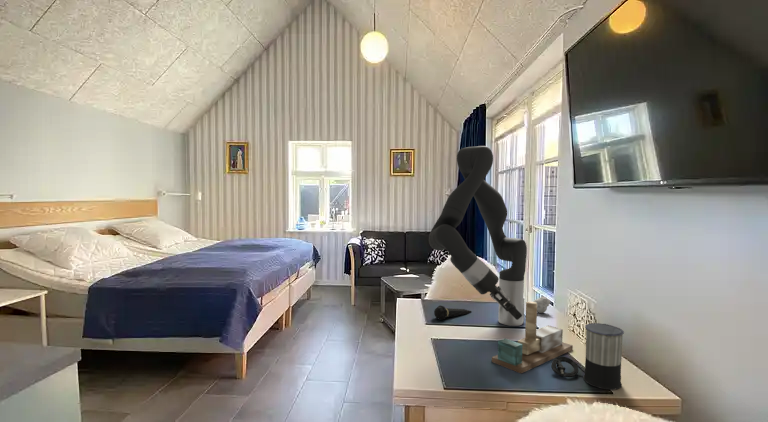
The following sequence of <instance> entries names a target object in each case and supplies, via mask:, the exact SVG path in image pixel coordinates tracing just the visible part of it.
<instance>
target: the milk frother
mask: <svg viewBox="0 0 768 422" xmlns="http://www.w3.org/2000/svg"><path fill="white" fill-rule="evenodd" d="M584 327H585V329H586V331H585V332H586V333H585V335H586V337H585V359H584V360H585V363H584V369H583V368H582V367H580V366H579V364H578V363H576V361H575V360H573V359H571V358H570V357H567V356H558V357H556V358H554V359H552V362H551V370H552V371H553V372H554V373H555V374H556V375H558V376H561V377H564V378H574V377H576V376H578V374H579V370H581V371H582V372H583V377H582V378H583V381H584V382H586V383H587V384H589V385H591V386H592V387H595V388H598V389H604V390H610V391H611V390H612V391H613V390H618V389H621V388H622V385H623V383H622V375H621V374H622V357H623V356H622V354H623V335H624V333H625V332H624V330H623V329H621V328H620V327H617V326H615V325H611V324H607V323H597V322H596V323H595V322H592V323H588V324H586V325H585V326H584ZM563 362H564V363H567V364H568V365H571V366H572V368H573V371H571V372H566V367H565V366H564V365H563Z"/></svg>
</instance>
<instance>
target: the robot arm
mask: <svg viewBox="0 0 768 422" xmlns="http://www.w3.org/2000/svg"><path fill="white" fill-rule="evenodd" d="M492 151H493V150H492V149H491V148H490V147H489V146H486V145H478V146H468V147H462V148H461V149H459V150H458V151H457V155H456V161H457V167H458V169H459V171H460V173H461V176H463V179H464V180H463V182H461V183H460V184H459V185H458V186H457V187H456V188H455V189H454V190H453V191H452V192H451V193H450V195H448V198H447V200H446V201H445V204H444V205H443V208H442V210H441V214H440V215H439V217H438V218H437V220H436V222H435V223H434V225H433V227H432V229H431V230H430V233H429V235H428V244H429V246H430V247H431V249H433V250H434V251H438V252H440V251H444V250H446V251H447V253H448V254H449V256H450V258H449V260H450V263H452V265H453V266H454V267H455V268H456V269H457V270H458V271H459V272H460V273H461V274H462V277H464V278H465V280H466V281H467V282H469V284H470V285H471V286H472V287H473V288H474V289H475V290H476V291H477V292H478V293H479V294H480V295H485V294H487V293H489V296H490V297H491V299H493V300H494V301H496V303H497V304H498V323H500V324H502V325H504V326H511V327H518V326H522V325H523V324H524V323H525V298H524V296H525V295H524V291H525V288H524V287H525V274H526V267H527V265H526V264H527V254H528V250H527V249H528V248H527V247H528V246H527V242H526V241H525V240H524V239H523V238H519V237H518V238H516V237H507V236H506V235H505V232H504V225H505V223H506V220H507V218H508V209H507V206H506V203H505V201H504V198H503V196H502V195H501V194H500V192H498V190H496V188H494V187H493V186H492V185H491V184H490V183H488V182H487V181H486V177H487V175H488V174H489V173H490V170H491V169H492V166H493V163H494V155H493V152H492ZM473 198H474V200H475V202H476V204H477V207H478V211H479V213H480V214H481V218H482V219H483V221H484V223H485V225H486V228H487V232H488V233H489V236H490V239H491V242H492V246H493V250H494V252H495V255H496V257H497V258H498V259H499V260H501V261H504V262H505V261H506V262H511V267H509V268H506V269H502V270H501V269H500V271H499V275H497V274H495V273H494V271H492V269H491V268H490V267H489V266H488V264H486V263H485V262H484V261H483V260H482V259H480V258H479V257H478V256H477V255H476V254H475V252H473V251H472V250H471V249H470V248H469V247H468V245H467V244H466V242H465V240H464V239H463V237H462V236H461V235H462V234H460V232H459V231H458V230H457V229H456V228H457V227H458V226H459V225H461V223H462V222H463V219H464V217H465V214H466V212H467V209H468V207H469V204H470V203H471V201H472V199H473ZM497 284H498V286H497Z"/></svg>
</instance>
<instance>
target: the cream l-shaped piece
mask: <svg viewBox="0 0 768 422" xmlns="http://www.w3.org/2000/svg"><path fill="white" fill-rule="evenodd" d="M537 315H538V312H537V303H536V302H533V301H525V327H524V328H525V329H524V330H525V332H524V335H525V336H524V338H521V339H518V340H517V343H520V344H522V353H523V354H526V355H528V354H531V353H533V352H536V351H538V350H540V349H541V338H539V337H536V330H537V325H538V324H537V319H538V318H537V317H538V316H537Z"/></svg>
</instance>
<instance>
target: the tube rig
mask: <svg viewBox="0 0 768 422" xmlns="http://www.w3.org/2000/svg"><path fill="white" fill-rule="evenodd" d="M563 332H564V329H562V328H559V327H556V326H552V325H546V326H543V327H540V328H538V329H537V328H536V337H539V338H541V349H540V350H538V351H536V352H533V353H531V354H528V355H526V354H523V353H522V344H520V343H518V341H513V340H511V339H508V338H502V339H499V340H497V354H496V355H493V356H491V363H493V364H495V365H499V366H501V367H504V368H506V369H509V370H511V371H514V372H516V373H518V374H523V373H526V372H527V371H531V370H532V369H534V368H537V367H538V366H540V365H543V364H545V363H547V362H549V361H551V360H552V361H553V360H554V359H555V358H557V357H561V356H562V355H564V354H567V353H569V352H571V351H573V350H574V348H573V347H574V346H573V344H570V343H566V342H563Z"/></svg>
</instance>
